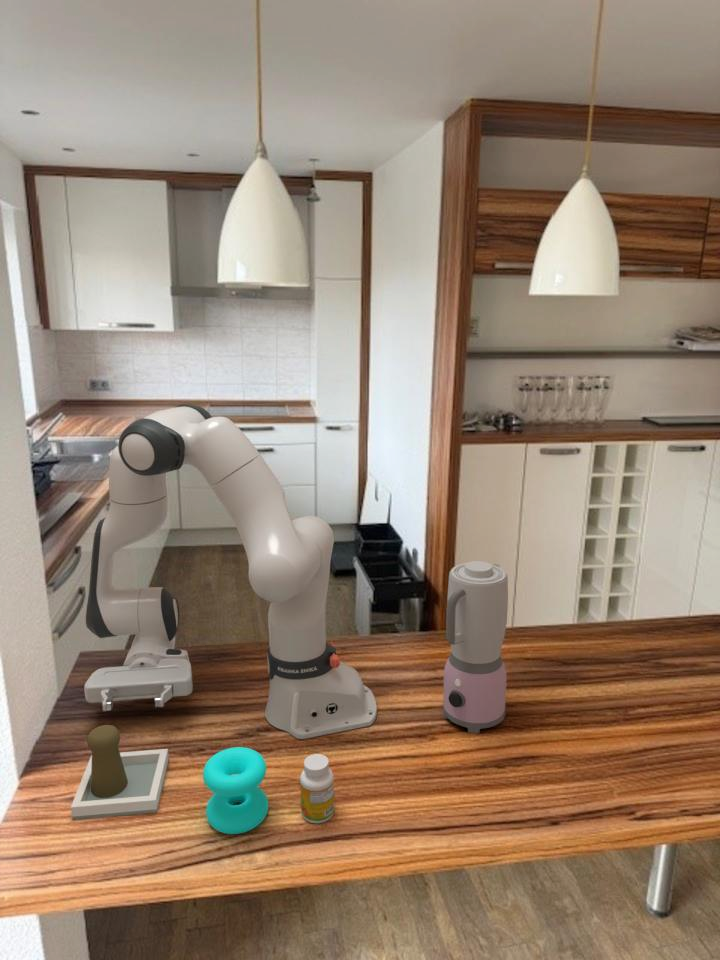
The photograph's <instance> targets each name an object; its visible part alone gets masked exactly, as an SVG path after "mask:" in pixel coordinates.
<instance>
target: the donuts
mask: <svg viewBox="0 0 720 960" xmlns="http://www.w3.org/2000/svg"><path fill="white" fill-rule="evenodd" d="M266 774H267V763H266V760H265V759H264V757H263V756H262V755H261V753H259V752H258V751H256V750H254V749H252V748H249V747H244V746H238V747H237V746H235V747H230V748H225V749H223V750H219V751H218V752H217V753H215V754H214V755H211V757H210V758H209V759H208V760H207V761H206V763H205V765H204V768H203V771H202V778H203V782H204V784H205V786H206V787H207V789H208V790H210V792H212V793H213V794H212V796H211V797H210V798H209V800H208V801H207V805H206V810H205V812H206V814H205V816H206V819H207V822H208V824H209V825H210V826H211V827H212V828H213V829H214V830H216V831H217V832H220V833H223V834H226V835H227V834H228V835H239V834H242V833H243V834H244V833H247V832H249V831H251V830H253V829H255V828H256V827H258V826H259V825H260V824H261V823H263V820H265V818H266V816H267V813H268V811H269V799H268V797H267V795H266V793H265V792H264V791H263V789H261V788H260V787H259V786H260V785H261V784H262V782H263V780H264V779H265V776H266Z"/></svg>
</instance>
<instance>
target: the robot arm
mask: <svg viewBox="0 0 720 960" xmlns="http://www.w3.org/2000/svg"><path fill="white" fill-rule="evenodd" d="M117 443H118V444H117V446H115V448H114V449H112V452H111V453H110V459H109V467H108V468H109V469H108V490H109V491H108V492H109V493H108V494H109V509H108V511H107V515H106V517H104V518H102V519H100V520H99V521H98V523H97V526H96V528H95V532H94V536H93V543H92V551H91V561H90V562H91V563H90V573H89V574H90V575H89V587H88V588H89V589H88V595H87V596H88V597H87V602H86V605H85V606H86V607H85V615H84V620H85V626H86V628H87V629H88V630H89V631H90V632H91V633H92V634H93V635H95V636H96V637H97V638H100V639H104V638H105V639H106V638H111V637H112V638H113V637H118V636H130V635H131V636H132V635H135V636H134V639H132V643H131V647H130V649H129V650H128V653H127V656H126V657H125V660H124V662H123V665H122V666H108V667H101V668H98V669H96V670H95V671H93V672H92V673H91V675H90V676H89V677H88V679H87V680H86V682H85V684H84V685H83V688H84V690H83V691H84V697H85V700H86V701H87V703H90V704H91V703H102V712H107V711H108V712H110V711H113V708H114V703H113V702H118V701H133V700H145V699H147V700H148V699H154V703H155V704H154V707H155V708H163V707H164V706H165V704H166V703H167V702H168V701H169V700H170V699H172V698H173V697H185V696H186V697H187V696H189V695H191V694H192V692H193V688H194V687H193V685H194V683H193V673H192V665H191V662H190V658H189V653H188V651H187V650H185V649H179V648H178V649H177V648H175V645H176V635H177V633H178V631H179V626H180V606H179V602H178V599H177V597H176V596H175V595H174V594H173V593H172V591H170V589H168V588H167V587H165V586H161V587H160V586H156V587H142V588H141V587H140V588H116V587H115V586H113V585H112V581H113V569H114V559H115V558H114V557H115V554H116V553H117V552H118V551H120V550H121V549H123V548H125V547H127V546H130V545H132V544H135V543H138V542H140V541H143V540H145V539H147V538H148V537H149V538H150V537H151V536H152V535H153V534H155V533H156V532H157V531H158V530H160V528H161V527H162V526H163V525H164V524H165V522H166V519H167V518H168V510H169V509H168V507H169V504H168V503H169V501H168V499H169V498H168V497H169V496H168V488H167V473H169V472H173V471H177V470H180V469H181V468H183V466H184V465H190V466H193V467H194V468H196V469H197V470H198V471H199V472H200V474H202V476H203V478H204V479H205V481H206V482H207V484H208V486H209V487H210V488H211V489H212V491H213V493H214V494H215V495H216V497H217V499H218V500H219V501H220V503H221V504H222V507H224V509H225V510H226V512H227V514H228V515H229V517H230V518H231V519H232V521H233V524H234V526H235V528H236V529H237V531H238V534H239V536H240V540H241V542H242V545H243V548H244V551H245V555H246V558H247V560H248V561H247V562H248V580H249V584H250V587H251V588H252V590H253V591H254V592H255V594H257V596H259V597H260V598H261V599H263V600H265V601H267V602H270V604H269V608H268V611H267V617H268V618H267V621H268V640H269V647H268V649H267V655H266V656H267V659H266V660H267V673H268V675H269V676H268V677H269V689H268V690H269V691H268V697H267V702H266V707H265V710H264V716H265V719H266V720H267V722H268V723H269V724H270V725H271V726H272V727H275V728H277V729H279V730H282V731H284V732H287V733H289V734H290V735H292V736H293V737H294V738H296V739H299V740H305V739H310V738H315V737H316V738H317V737H319V736H325V735H330V734H336V733H339V732H345V731H350V730H354V729H359V728H365V727H370V726H371V725H373V724H374V722H375V721H376V719H377V715H378V708H377V701H376V698H375V695H374V694H373V691H372V690H371V689H370V688H369V687H368V686H367V685H364V682H363V679H362V677H361V675H360V674H359V672H358V671H357V670H356V668H353V667H352V666H350V665H348V664H346V663H344V662H343V661H341V659H340V656H339V655H337V648H336V647H335V644H334V642H333V641H332V640H331V641H330V643H328V642H327V635H326V631H327V630H326V606H327V605H326V604H327V597H328V596H327V595H328V591H329V590H328V588H329V583H330V582H329V581H330V572H331V560H332V553H333V549H334V543H335V535H334V533H333V532H334V531H333V529H332V528H331V526H330V525H329V523H328V522H327V521H325V520H324V519H323V518H321V517H319V516H316V515H305V516H301V517H298V518H295V519H292V518H291V516H290V514H289V510H288V508H287V504H286V499H285V497H286V496H285V495H286V494H285V489H284V488H283V485H282V484H281V483H280V482H279V479H278V478H277V477H276V476H275V474H274V473H273V470H272V469H271V468H270V467H269V465H268V464H267V462H266V460H265V459H264V458H263V456H262V455H261V453H260V452H259V451H258V449H257V448H256V447H255V445H254V444H253V443H252V441H251V440H250V439H249V438H248V437H247V435H246V434H245V433H244V432H243V431H242V430H241V428H240V427H238V425H236V424H235V423H234V422H233V420H231V419H230V418H228V417H226V416H212V415H211V413H209V412H208V411H207V409H205V408H203V407H201V406H199V405H195V404H190V403H189V404H188V403H187V404H180V405H179V404H178V405H175V406H174V407H171V408H167V409H160V410H157V411H154V412H152V413H150V414H148V415H146V416H145V417H143V418H139V419H136V420H134V421H133V422H132V423H130V424H129V425H128V426H127V427H125V429H124V430H123V431H122V432H121V434H120V435H119V438H118V442H117Z"/></svg>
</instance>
